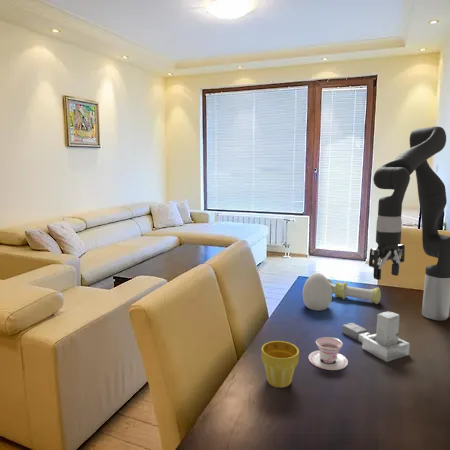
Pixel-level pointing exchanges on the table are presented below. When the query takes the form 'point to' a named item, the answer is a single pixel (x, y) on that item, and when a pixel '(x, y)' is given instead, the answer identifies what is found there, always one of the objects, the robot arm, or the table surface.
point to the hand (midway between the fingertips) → (386, 277)
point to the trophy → (355, 292)
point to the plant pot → (279, 362)
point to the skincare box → (387, 328)
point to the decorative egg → (317, 292)
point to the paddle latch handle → (376, 343)
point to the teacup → (328, 354)
